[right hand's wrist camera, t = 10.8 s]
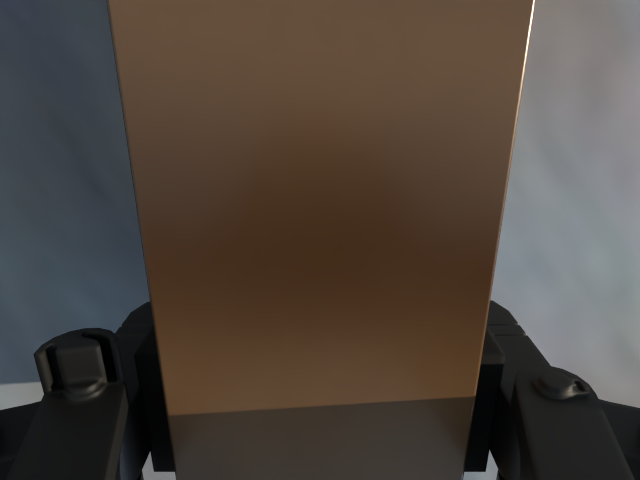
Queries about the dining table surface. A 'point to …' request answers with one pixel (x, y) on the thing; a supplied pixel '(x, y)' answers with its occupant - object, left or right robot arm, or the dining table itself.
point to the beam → (320, 224)
